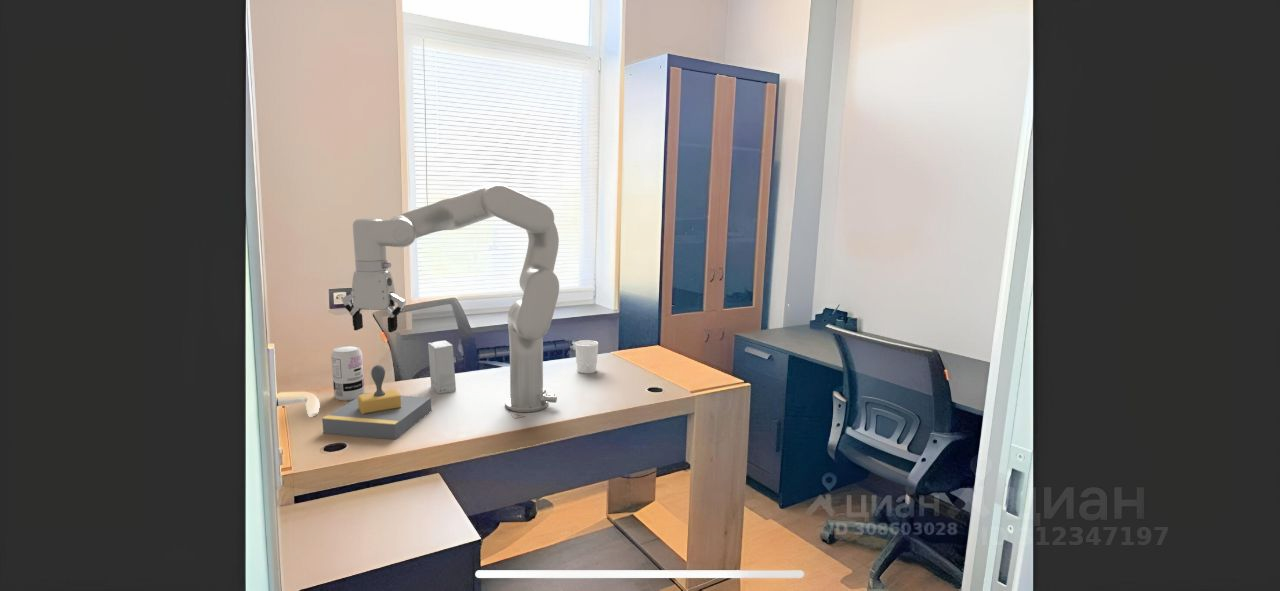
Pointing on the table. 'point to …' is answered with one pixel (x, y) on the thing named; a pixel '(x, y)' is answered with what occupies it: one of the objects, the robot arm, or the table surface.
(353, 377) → the supplement can
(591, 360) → the white cup
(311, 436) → the table surface
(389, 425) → the block
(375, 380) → the rubber stamp
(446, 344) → the skincare box
